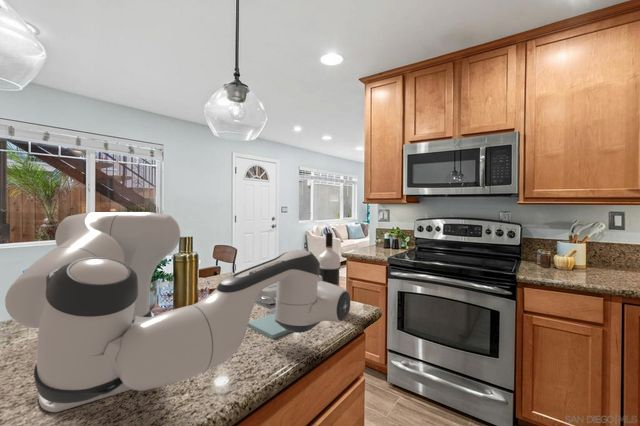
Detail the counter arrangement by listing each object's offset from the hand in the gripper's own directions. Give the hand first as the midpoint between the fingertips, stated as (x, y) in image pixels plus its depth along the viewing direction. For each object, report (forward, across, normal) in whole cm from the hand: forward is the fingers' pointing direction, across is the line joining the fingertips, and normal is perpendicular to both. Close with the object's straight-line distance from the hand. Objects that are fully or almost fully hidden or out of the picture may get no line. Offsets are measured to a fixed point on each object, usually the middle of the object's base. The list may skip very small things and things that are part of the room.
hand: (270, 282), depth 93 cm
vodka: (+2, +29, -17) cm, 33 cm away
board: (+6, +8, -17) cm, 19 cm away
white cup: (+17, +15, -17) cm, 29 cm away
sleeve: (-1, 0, -6) cm, 6 cm away
